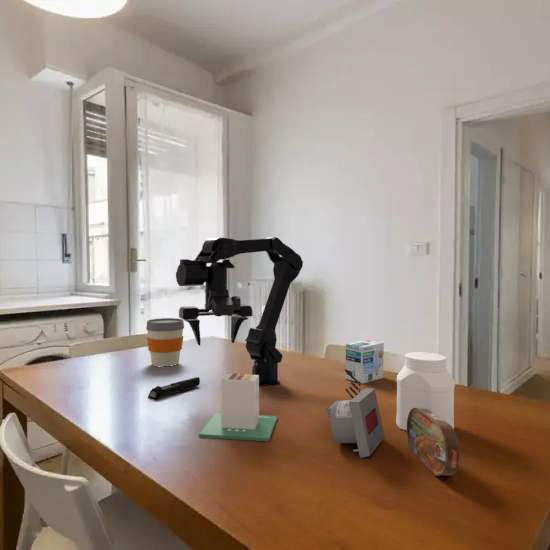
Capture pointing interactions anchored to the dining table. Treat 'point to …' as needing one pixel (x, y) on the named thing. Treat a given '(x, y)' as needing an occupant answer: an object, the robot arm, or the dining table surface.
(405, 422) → the jar
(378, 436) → the voltmeter
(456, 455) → the tin
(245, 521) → the dining table surface
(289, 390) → the dining table surface
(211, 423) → the header board
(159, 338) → the reusable coffee cup
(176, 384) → the electric trimmer
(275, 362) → the robot arm
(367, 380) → the light bulb box
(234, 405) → the plug block
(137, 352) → the dining table surface
